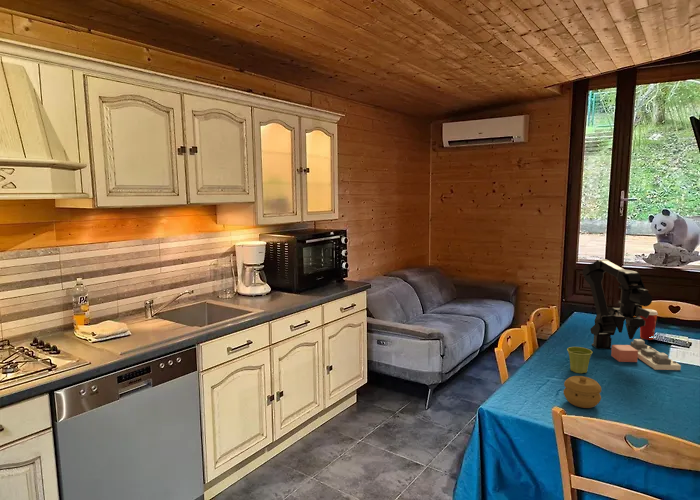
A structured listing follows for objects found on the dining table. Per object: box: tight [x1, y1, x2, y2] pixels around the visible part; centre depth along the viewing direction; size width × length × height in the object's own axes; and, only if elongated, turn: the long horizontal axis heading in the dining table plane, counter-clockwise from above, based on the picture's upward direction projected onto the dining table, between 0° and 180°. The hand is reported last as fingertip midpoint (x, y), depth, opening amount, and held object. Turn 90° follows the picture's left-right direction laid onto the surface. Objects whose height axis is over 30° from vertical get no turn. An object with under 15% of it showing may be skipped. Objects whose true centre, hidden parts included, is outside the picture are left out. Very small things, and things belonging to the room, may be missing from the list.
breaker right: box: [655, 352, 669, 359], centre depth 199 cm, size 3×3×2 cm
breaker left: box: [632, 338, 646, 345], centre depth 217 cm, size 3×3×2 cm
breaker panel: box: [629, 341, 682, 371], centre depth 208 cm, size 10×24×4 cm, turn 176°
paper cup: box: [639, 308, 658, 341], centre depth 236 cm, size 8×8×14 cm
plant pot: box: [566, 346, 593, 374], centre depth 195 cm, size 9×9×9 cm
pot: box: [562, 375, 602, 409], centre depth 166 cm, size 12×12×10 cm
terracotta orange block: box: [610, 344, 639, 363], centre depth 209 cm, size 7×7×5 cm
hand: (625, 335), depth 208 cm, fingers open, 9 cm apart
